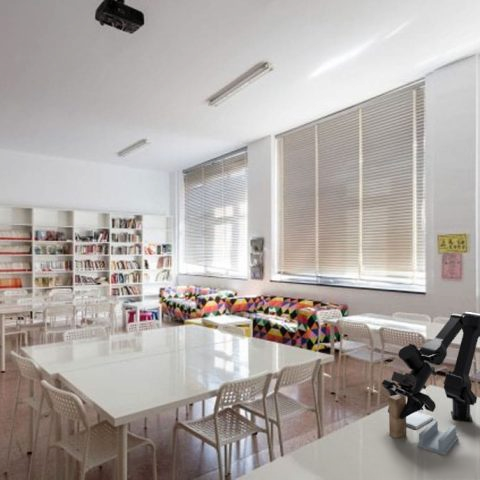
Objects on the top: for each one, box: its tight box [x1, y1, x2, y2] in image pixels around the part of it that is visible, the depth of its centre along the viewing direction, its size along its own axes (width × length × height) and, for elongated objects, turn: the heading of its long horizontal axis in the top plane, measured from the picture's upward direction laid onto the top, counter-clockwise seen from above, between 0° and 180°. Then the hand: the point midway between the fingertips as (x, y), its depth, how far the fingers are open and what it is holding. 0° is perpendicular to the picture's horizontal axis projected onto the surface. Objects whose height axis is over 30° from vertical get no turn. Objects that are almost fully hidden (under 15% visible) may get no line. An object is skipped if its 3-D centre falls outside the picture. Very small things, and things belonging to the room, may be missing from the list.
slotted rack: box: [417, 419, 459, 456], centre depth 128 cm, size 14×8×4 cm, turn 137°
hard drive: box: [406, 411, 434, 430], centre depth 144 cm, size 2×8×12 cm
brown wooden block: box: [388, 395, 407, 439], centre depth 134 cm, size 4×3×12 cm, turn 115°
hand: (394, 415), depth 133 cm, fingers open, 5 cm apart
